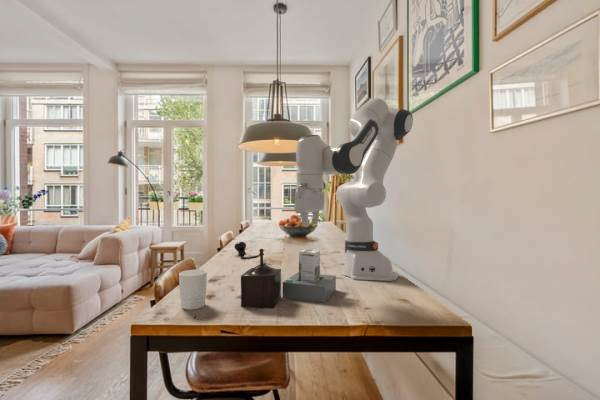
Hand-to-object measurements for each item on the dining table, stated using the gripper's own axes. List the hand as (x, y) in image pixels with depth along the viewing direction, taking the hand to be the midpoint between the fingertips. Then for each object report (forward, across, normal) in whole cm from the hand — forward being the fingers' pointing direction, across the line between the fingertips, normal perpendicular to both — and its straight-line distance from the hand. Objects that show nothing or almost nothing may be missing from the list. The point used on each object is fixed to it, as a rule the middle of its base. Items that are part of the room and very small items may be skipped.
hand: (310, 225), depth 104 cm
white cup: (+22, -23, +29) cm, 44 cm away
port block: (+23, 0, 0) cm, 23 cm away
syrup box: (+23, -1, +1) cm, 23 cm away
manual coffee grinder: (+23, -13, +14) cm, 30 cm away
